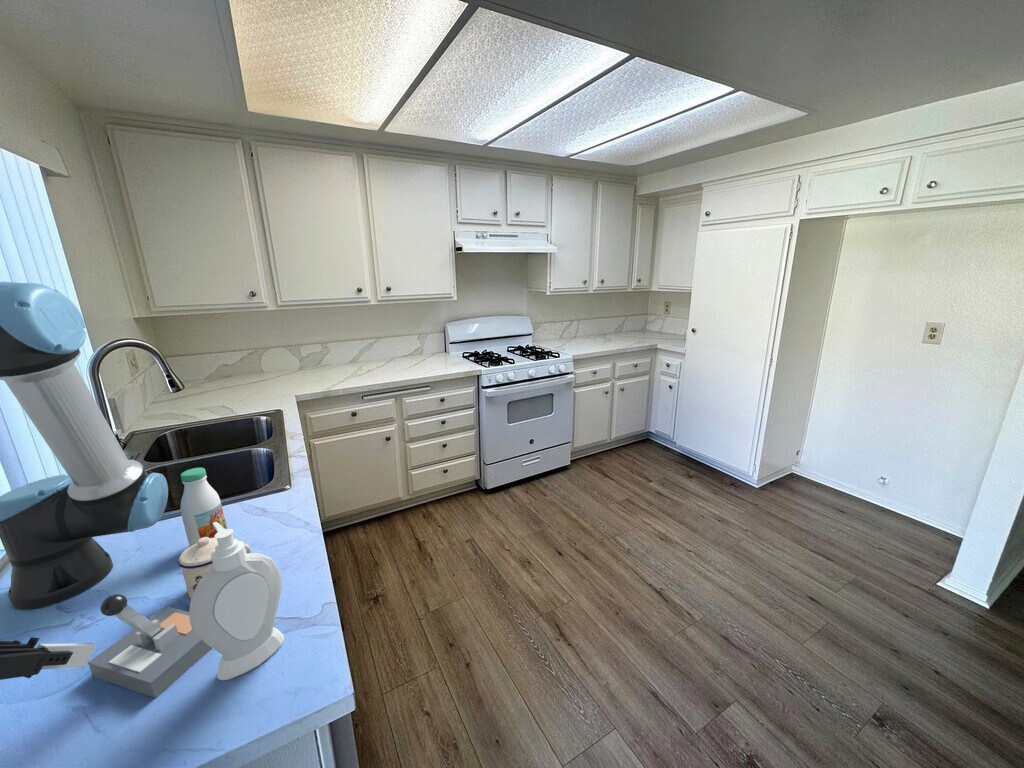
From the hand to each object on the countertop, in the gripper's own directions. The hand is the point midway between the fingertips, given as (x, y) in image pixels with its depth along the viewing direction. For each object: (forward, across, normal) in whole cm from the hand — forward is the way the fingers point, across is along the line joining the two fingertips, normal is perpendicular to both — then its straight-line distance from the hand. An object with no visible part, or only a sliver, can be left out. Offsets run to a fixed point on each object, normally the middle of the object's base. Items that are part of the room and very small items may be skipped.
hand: (87, 654), depth 60 cm
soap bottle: (+15, +15, +2) cm, 21 cm away
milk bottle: (+31, -21, +17) cm, 41 cm away
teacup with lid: (+24, -6, +11) cm, 27 cm away
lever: (+10, 0, +2) cm, 10 cm away
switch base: (+13, 0, 0) cm, 13 cm away
